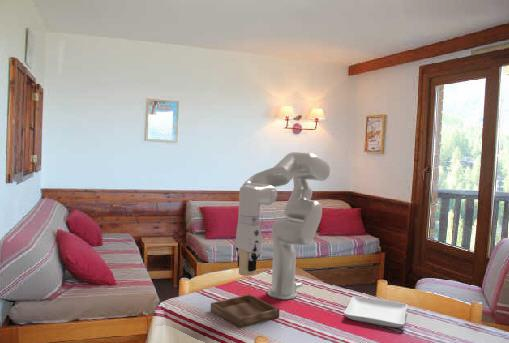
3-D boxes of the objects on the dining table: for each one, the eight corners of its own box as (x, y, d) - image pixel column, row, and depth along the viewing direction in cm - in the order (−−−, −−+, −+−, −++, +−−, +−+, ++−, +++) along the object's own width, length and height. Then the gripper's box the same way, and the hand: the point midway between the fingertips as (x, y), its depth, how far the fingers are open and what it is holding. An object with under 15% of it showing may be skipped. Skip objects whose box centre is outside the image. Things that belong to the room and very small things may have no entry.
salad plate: (342, 321, 164) (343, 312, 163) (352, 302, 183) (353, 294, 183) (403, 333, 156) (404, 324, 156) (407, 312, 176) (407, 303, 175)
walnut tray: (248, 301, 179) (249, 294, 178) (279, 316, 165) (279, 308, 164) (210, 310, 167) (210, 303, 167) (239, 328, 153) (239, 319, 153)
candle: (251, 276, 162) (253, 249, 161) (237, 275, 163) (238, 247, 162) (255, 272, 167) (256, 245, 166) (240, 270, 168) (241, 244, 167)
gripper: (271, 223, 159) (269, 273, 160) (242, 215, 172) (240, 261, 174) (255, 225, 154) (253, 276, 156) (226, 216, 168) (224, 264, 169)
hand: (246, 268), depth 165 cm, fingers closed on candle, 5 cm apart
